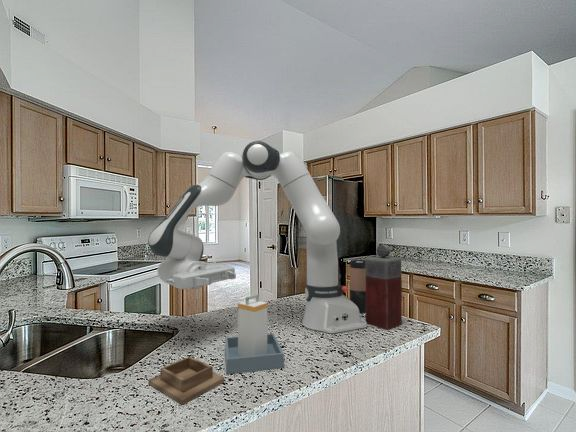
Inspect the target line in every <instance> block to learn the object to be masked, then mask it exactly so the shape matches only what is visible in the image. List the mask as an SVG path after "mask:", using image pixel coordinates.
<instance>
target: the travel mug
mask: <svg viewBox="0 0 576 432" xmlns="http://www.w3.org/2000/svg"><path fill="white" fill-rule="evenodd" d="M349 299H350V300H351V301H352V302H353V303H354V304H356V305H357V307H358V309H359V312H360V314H366V259H364V260H363V259H351V260H350V261H349Z"/></svg>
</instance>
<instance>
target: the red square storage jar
mask: <svg viewBox="0 0 576 432" xmlns="http://www.w3.org/2000/svg"><path fill="white" fill-rule="evenodd" d="M376 253H377V256H370V257H367V258H365V260H366V313H365V321H366V322H367V325H370V326H373V327H376V328H379V329H382V330H385V331H389V330H392V329H394V328H397V327H399V326H401V325H402V316H403V315H402V309H403V308H402V302H403V299H402V297H403V294H402V293H403V291H402V290H403V288H402V287H403V286H402V285H403V284H402V283H403V280H402V259H401V258H400V257H393V256H389V255H390V254H391V248H390V246H389V245H387V244H380V245H378V246H377V247H376Z"/></svg>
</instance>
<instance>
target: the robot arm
mask: <svg viewBox="0 0 576 432" xmlns="http://www.w3.org/2000/svg"><path fill="white" fill-rule="evenodd" d="M271 176H273V177H274V178H275V179H277V181H278V184H279V185H280V186H281V188H282V191H283V192H284V194H285V196H286V198H287V199H288V201H289V203H290V205H291V207H292V209H293V211H294V213H295V214H296V216H297V218H298V219H299V222H300V224H301V226H302V227H303V229H304V231H305V233H306V237H305V238H306V283H305V289H304V291H305V292H304V294H305V295H304V296H305V297H304V298H305V309H304V315H303V320H302V322H301V323H302V325H303V326H304V327H305V328H307V329H309V330H313V331H320V332H323V333H328V334H337V333H340V332H341V333H342V332H348V331H354V330H358V329H363V328H364V329H365V328H367V327H368V324H367V322H366V319H365V318H363V317H361V313H360V312H359V309H358V307H357V305H356V304H354V303H353V302H352V301H351V300H350V298H348V297H347V296H346V295H345V294H344V293H348V292H349V288H348V287H347V286H345V285H342V284H340V283H339V258H338V244H337V240H338V239H339V237H340V235H341V227H340V223H339V221H338V219H337V218H336V216H335V215H334V212H333V211H332V209H331V208H330V206H329V205H328V204H329V203H327V201H326V200H325V198H324V196H323V195H322V193H321V191H320V190H319V187H318V186H317V184H316V182H315V181H314V179H313V178H312V175H311V173H310V172H309V170H308V168H307V167H306V164H304V162H303V161H302V159H301V158H300V157H299V156H298V155H297V154H296V153H295V152H294V151H284V152H281V153H280V152H279V151H278V150H277V149H276V148H274V147H272V145H269V144H268V143H266V142H265V141H261V140H254V141H251V142H249V143H248V144H247V145H246V146H245V148H244V149H243V151H242V153H241V154H238V153H235V152H233V151H225V152H223V153H222V154H220V156H219V157H218V159H216V161H215V162H214V164H213V165H212V166H211V168H210V169H209V171H208V173H207V175H206V176H205V178H204V179H203V180H201V182H199V183H198V184H193V185H192V186H190V187H189V188H188V189H187V190H186V191H184V193H183V194H182V196H181V197H179V199H178V201H177V202H176V203H175V205H174V206H173V207H172V208H171V210H170V211H169V212H168V213H167V215H166V216H165V217H164V219H163V220H162V221H161V222H160V223H159V224H158V225H157V226H155V228H153V230H152V231H151V233H150V234H149V236H148V240H147V243H148V246H149V249H150V251H151V253H152V254H153V255H154V256H158V257H166V259H165V260H163V261H161V262H160V263H159V264H158V267H157V275H158V278H159V279H160V280H161V281H162V282H163V283H165V284H166V285H167V284H168V285H171V286H173V287H174V288H176V289H180V290H188V289H190V290H198V289H200V288H201V287H203V286H210V285H212V284H214V283H219V282H223V281H227V280H235V279H237V274H236V271H235V270H236V269H235V267H234V266H232V265H228V264H227V265H226V264H221V263H217V261H202V258H203V256H204V251H205V250H204V243H203V240H202V239H201V238H200V237H199V236H197V235H193V234H191V233H189V232H185V231H182V230H179V228H180V227H181V225H182V224H183V222H185V220H186V219H187V218H188V216H189V215H190V214H191V212H192V211H193V210H195V209H196V208H198V207H202V206H203V207H204V206H206V207H208V206H210V207H217V206H223V205H225V204H227V203H228V202H230V200H231V199H232V198H233V196H234V195H235V192H236V190H237V188H238V186H239V185H240V183H241V182H242V180H243V179H244V178H246V179H251V180H257V181H263V180H267V179H268V178H270V177H271Z"/></svg>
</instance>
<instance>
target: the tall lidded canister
mask: <svg viewBox="0 0 576 432" xmlns="http://www.w3.org/2000/svg"><path fill="white" fill-rule="evenodd" d="M267 334H268V302H267V301H263V300H262V301H261V300H260V294H259V293H256V294H255V293H254V294H252V295H248V296H246V297H245V300H244V301H240V302H238V303H237V337H238V356H240V357H246V356H256V355H266V354H267Z"/></svg>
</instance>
